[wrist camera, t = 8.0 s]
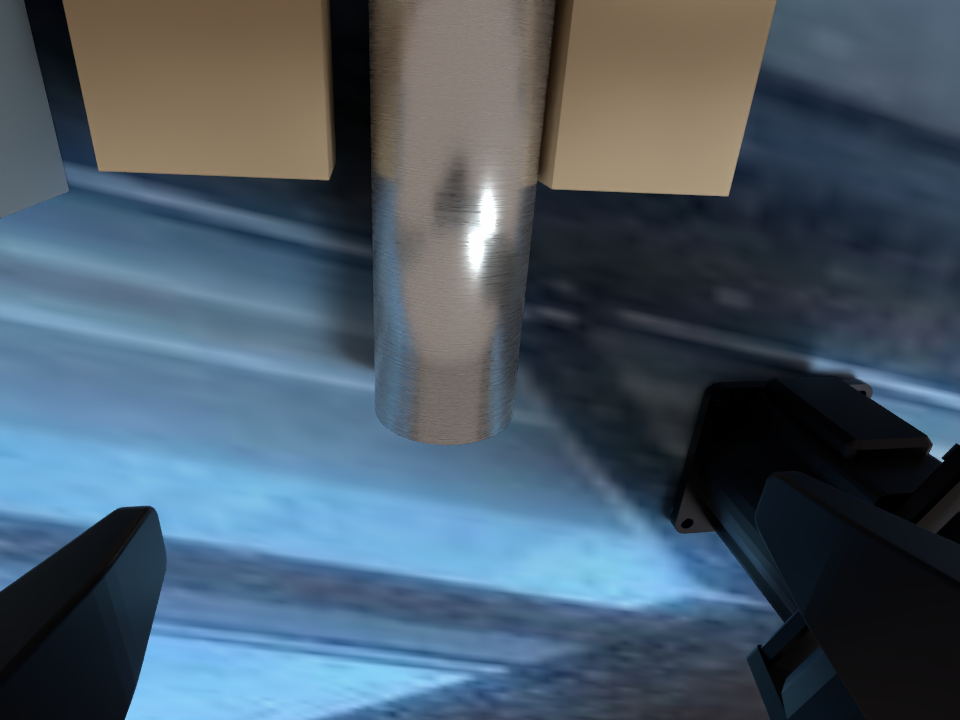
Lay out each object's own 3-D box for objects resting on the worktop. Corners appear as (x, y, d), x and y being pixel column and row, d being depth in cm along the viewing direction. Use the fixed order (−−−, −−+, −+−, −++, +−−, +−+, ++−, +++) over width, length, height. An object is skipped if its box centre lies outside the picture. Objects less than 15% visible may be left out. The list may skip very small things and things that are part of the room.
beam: (671, 177, 17) (728, 196, 14) (149, 153, 14) (98, 171, 12) (722, -76, 14) (803, -110, 12) (95, -160, 12) (13, -230, 9)
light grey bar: (484, 369, 19) (535, 432, 16) (363, 381, 18) (392, 455, 14) (518, -73, 14) (605, -117, 11) (351, -103, 13) (391, -163, 9)
